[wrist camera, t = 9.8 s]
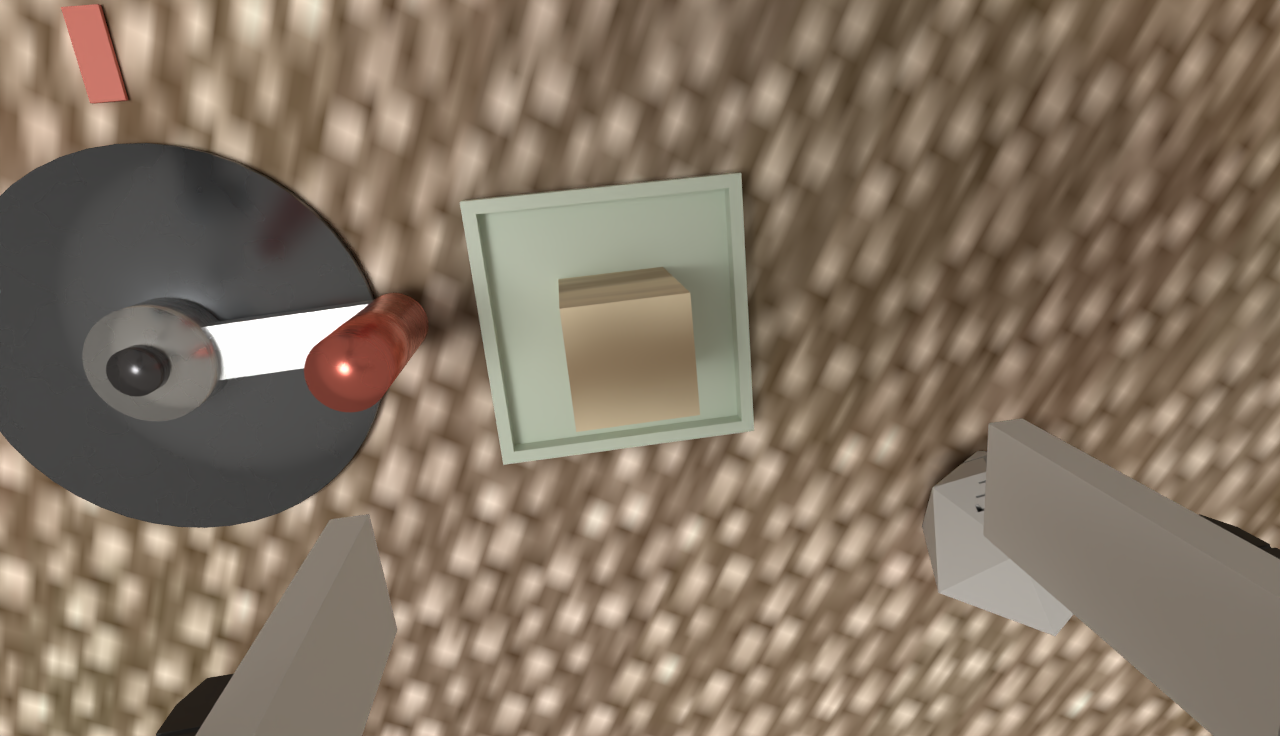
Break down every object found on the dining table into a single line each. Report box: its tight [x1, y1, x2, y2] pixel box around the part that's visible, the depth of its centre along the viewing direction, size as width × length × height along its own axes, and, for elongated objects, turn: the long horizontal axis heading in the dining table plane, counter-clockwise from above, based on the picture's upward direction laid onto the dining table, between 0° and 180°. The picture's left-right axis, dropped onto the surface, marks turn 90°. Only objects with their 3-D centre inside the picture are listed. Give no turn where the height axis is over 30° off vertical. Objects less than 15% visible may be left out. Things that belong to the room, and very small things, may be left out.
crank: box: [82, 293, 428, 421], centre depth 28 cm, size 14×5×9 cm, turn 97°
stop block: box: [558, 267, 700, 432], centre depth 30 cm, size 5×5×7 cm
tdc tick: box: [61, 4, 128, 103], centre depth 28 cm, size 4×1×1 cm, turn 5°
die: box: [922, 451, 1073, 636], centre depth 36 cm, size 8×9×10 cm
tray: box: [460, 173, 754, 465], centre depth 34 cm, size 13×13×2 cm
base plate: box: [0, 143, 381, 528], centre depth 30 cm, size 18×18×4 cm
